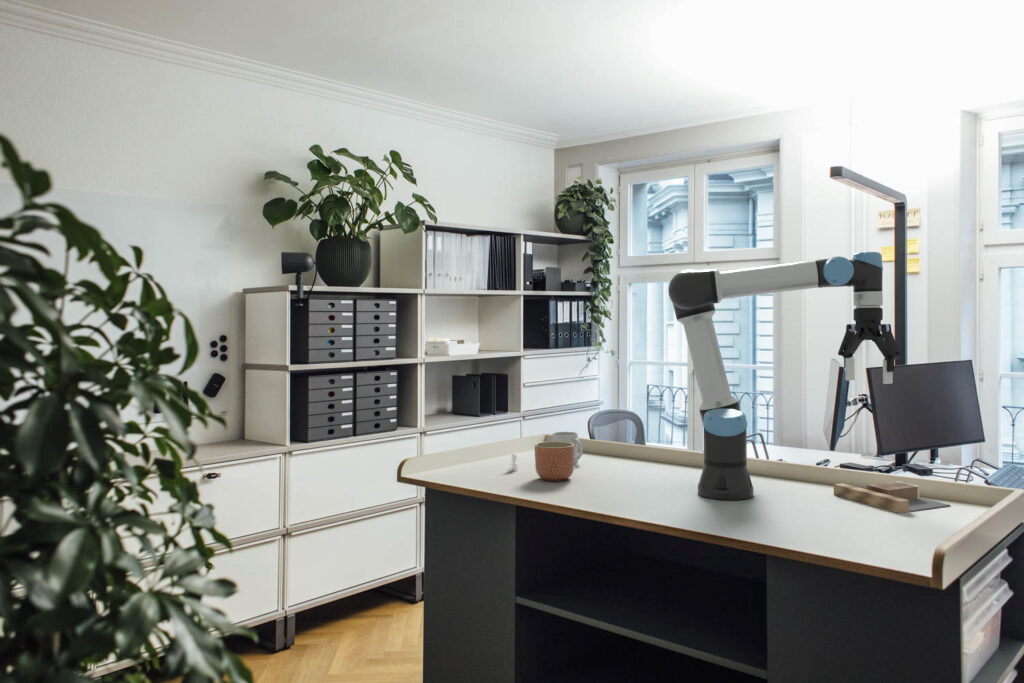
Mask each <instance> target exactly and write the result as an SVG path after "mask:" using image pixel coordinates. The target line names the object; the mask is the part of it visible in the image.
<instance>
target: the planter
mask: <svg viewBox="0 0 1024 683" xmlns="http://www.w3.org/2000/svg"><path fill="white" fill-rule="evenodd" d="M534 459H535V462H534V463H535V464H534V465H535V472H536V474H537V475H538V477H539V478H540V479H542V480H543V481H547V482H562V481H566V480H568V479H569V478H570V477H571V476H572V474H573V473H574V469H575V468H574V467H575V464H574V444H573V443H570V442H561V441H552V440H550V441H541V442H537V443H536V442H535V444H534Z"/></svg>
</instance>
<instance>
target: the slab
mask: <svg viewBox="0 0 1024 683" xmlns="http://www.w3.org/2000/svg"><path fill="white" fill-rule="evenodd" d="M866 489H867V490H871V491H875V492H879V493H883V494H887V495H890V496H894V497H898V498H902V499H906V500H909V501H910V500H917V499H920V496H921V494H920V490H921V489H920V486H919V485H916V484H911V483H907V482H903V481H898V480H896V481H889V482H881V483H872V484H866Z"/></svg>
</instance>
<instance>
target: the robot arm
mask: <svg viewBox="0 0 1024 683" xmlns="http://www.w3.org/2000/svg"><path fill="white" fill-rule="evenodd" d="M852 256H853V257H852V259H848V258H846V257H844V256H840V255H839V256H832V257H829V258H823V259H822V258H821V259H816V260H808V261H806V260H805V261H798V262H791V263H789V262H788V263H783V264H774V265H767V266H766V265H765V266H759V267H750V268H741V269H736V270H735V269H734V270H727V271H719V270H718V269H716V268H714V269H703V270H702V269H701V270H699V269H698V270H697V269H695V270H694V269H685V270H682V271H679V272H678V273H677V274H675V275H673V277H672V278H671V280H670V281H669V285H668V297H669V299H670V300H671V302H672V306H673V311H674V314H675V320H676V321H677V322H679V323H680V324H681V325H683V330H684V333H685V337H686V341H687V345H688V349H689V353H690V357H691V360H692V365H693V369H694V372H695V373H694V374H695V378H696V381H697V386H698V389H699V394H700V397H701V401H702V402H701V404H700V406H699V407H698V411H699V414H700V418H701V423H702V428H703V468H702V471H701V475H700V478H699V481H698V484H697V494H698V495H699V496H701V497H704V498H707V499H714V500H721V501H722V500H723V501H739V500H746V499H751V498H752V497H754V495H755V494H754V485H753V482H752V479H751V476H750V473H749V471H748V465H747V464H748V463H747V461H748V460H747V459H748V457H747V455H748V454H747V450H748V448H747V444H748V442H747V440H748V439H747V438H748V436H747V430H748V429H747V427H748V421H747V415H746V413H744V412H743V411H741V407H740V403H739V400H738V398H735V397H733V396H732V393H731V389H730V384H729V381H728V377H727V373H726V370H725V365H724V362H723V361H724V360H723V358H722V357H723V356H722V352H721V349H720V344H719V341H718V336H717V332H716V329H715V325H714V321H713V316H714V315H715V313H716V306H715V304H720V303H721V301H722V300H725V299H733V298H734V299H735V298H742V297H750V296H757V295H759V296H760V295H768V294H776V293H781V292H783V293H785V292H791V291H801V290H809V289H816V288H820V289H822V288H842V287H853V288H852V291H853V294H852V295H853V306H854V307H855V308H853V321H855V323H849V324H848V323H847V324H846V325H845V333H844V335H843V336H844V337H842V341H841V344H840V347H839V349H838V351H837V355H838V356H841V357H842V358H843V368H844V369H845V370H844V371H845V372H844V373H845V374H844V375H845V378H844V379H845V381H847V382H849V381H855V378H856V377H855V376H856V375H855V374H856V373H855V369H856V368H855V365H856V364H855V361H856V360H855V357H854V354H855V353H856V351H857V350H858V348H859V347H860V345H861V344H862V342H864V341H872V342H874V344H875V346H876V347H877V348H878V350H879V351H880V353H881V354H882V355H883V357H884V358H883V360H882V384H883V385H890V384H893V382H894V380H893V379H894V378H893V377H894V376H893V374H894V372H895V360H896V359H899V358H901V357H902V354H901V351H900V350H899V347H898V344H897V342H896V339H895V336H894V335H893V332H892V325H891V324H890V323H881V322H882V321H883V318H884V316H883V313H884V309H883V308H882V307H881V306H883V305H884V303H883V302H884V299H883V298H884V296H883V279H884V278H883V275H884V274H883V271H884V270H883V269H884V266H883V257H882V254H881V253H880V252H877V251H864V252H855V253H854V254H853V255H852Z"/></svg>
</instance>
